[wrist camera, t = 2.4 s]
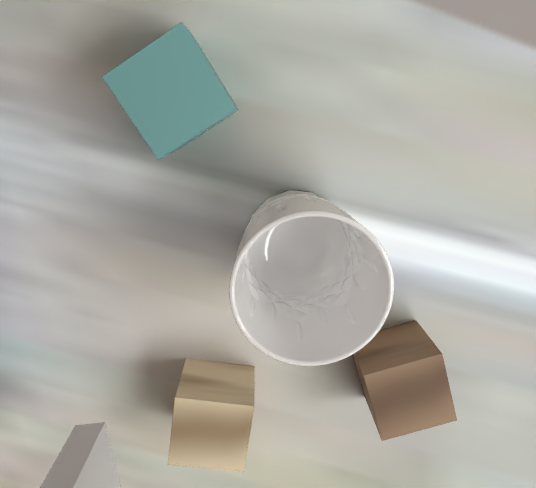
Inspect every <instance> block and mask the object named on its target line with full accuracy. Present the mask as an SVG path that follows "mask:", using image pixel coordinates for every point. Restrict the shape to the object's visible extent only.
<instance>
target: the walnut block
mask: <svg viewBox="0 0 536 488" xmlns="http://www.w3.org/2000/svg"><path fill="white" fill-rule="evenodd" d="M353 356H354V360H355V363H356V367H357V371H358V374H359V378H360V381H361V385H362V388H363V392H364V395H365V398H366V401H367V404H368V406H369V409H370V411H371V414H372V416H373V419H374V422H375V424H376V427H377V429H378V432H379V434H380V437H381V439H382V441H383V440H387V439H390V438H394V437H398V436H401V435H405V434H409V433H412V432H416V431H420V430H423V429H427V428H431V427H434V426H438V425H442V424H445V423H449V422H453V421H456V420H457V418H456V413H455V409H454V405H453V400H452V396H451V391H450V387H449V382H448V378H447V374H446V369H445V365H444V360H443V356H442V353H441V352H440V350H439V349H438V348H437V347H436V345H435V344H434V343H433V341H432V340H431V339H430V338H429V336H428V335H427V334H426V333H425V331H424V330H423V329H422V327H421V326H420V325H419V324H418V322H417V321H412V322H408V323H405V324H401V325H398V326H394V327H391V328H387V329H384V330H380V331H379V332H378V333H377V334H376V335H375V337H374V338H373V339H372V340H371V341H370V342H369V343H368V344H366V345H365V346H364V347H363V348H362V349H360V350H359V351H357V352H356V353H354V354H353Z"/></svg>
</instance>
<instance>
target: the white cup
mask: <svg viewBox="0 0 536 488" xmlns="http://www.w3.org/2000/svg"><path fill="white" fill-rule="evenodd" d="M393 294H394V277H393V271H392V267H391V263H390V261H389V258H388V256H387V254H386V252H385V250H384V248H383V247H382V245H381V244H380V242H379V241H378V240H377V239H376V237H375V236H374V235H373V234H372V233H371V232H370V231H368V230H367V229H366V228H365V227H363V226H362V225H361V224H360V223H358V222H357V221H356V220H355V219H353V218H352V217H351V216H350V215H348V214H347V213H346V212H345V211H343V210H342V209H340V208H339V207H337V206H336V205H334V204H333V203H331V202H330V201H328V200H326V199H323V198H321V197H319V196H317V195H316V194H314V193H312V192H303V191H291V190H289V191H286V192H283V193H281V194H278V195H275V196H273V197H270V198H268V199H267V200H266V201H265V202H264V203H263V204H262V205H261V206H260V207H259V208H258V209H257V210H256V211H255V212H254V213H253V214H252V216H251V219H250V222H249V224H248V225H247V227H246V229H245V232H244V234H243V237H242V239H241V242H240V244H239V248H238V252H237V256H236V259H235V263H234V266H233V269H232V273H231V278H230V285H229V297H230V304H231V309H232V312H233V315H234V318H235V320H236V323H237V325H238V326H239V328H240V330H241V331H242V333H243V334H244V335H245V337H246V338H247V339H248V340H249V341H250V342H251V343H252V344H253V345H254V346H255V347H256V348H257V349H259V350H260V351H261V352H263V353H264V354H266V355H268V356H270V357H272V358H274V359H276V360H279V361H281V362H285V363H288V364H293V365H300V366H318V365H325V364H330V363H333V362H337V361H339V360H342V359H344V358H347V357H349V356H351V355H352V354H354V353H356V352H357V351H359V350H360V349H362V348H363V347H364V346H365V345H366V344H368V343H369V342H370V341H371V340H372V339H373V338H374V337H375V335H376V334H377V333H378V332H379V330H380V329H381V327H382V326H383V324H384V322H385V320H386V318H387V316H388V314H389V311H390V308H391V305H392V301H393Z"/></svg>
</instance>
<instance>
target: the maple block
mask: <svg viewBox="0 0 536 488" xmlns="http://www.w3.org/2000/svg"><path fill="white" fill-rule="evenodd" d="M253 410H254V366H247V365H238V364H229V363H221V362H212V361H204V360H195V359H186V360H185V364H184V367H183V371H182V374H181V378H180V381H179V385H178V388H177V392H176V395H175V401H174V410H173V420H172V429H171V439H170V448H169V457H168V464H169V465H179V466H189V467H199V468H208V469H218V470H228V471H237V472H244V468H245V462H246V455H247V449H248V442H249V436H250V430H251V423H252V417H253Z"/></svg>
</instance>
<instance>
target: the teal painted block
mask: <svg viewBox="0 0 536 488" xmlns="http://www.w3.org/2000/svg"><path fill="white" fill-rule="evenodd" d="M102 78H103V79H104V81H105V82H106V84H107V85H108V87H109V88H110V90H111V91H112V93H113V94H114V96H115V97H116V98H117V100H118V101H119V103H120V104H121V106H122V107H123V109H124V110H125V112H126V113H127V115H128V116H129V118H130V119H131V121H132V122H133V124H134V125H135V127H136V128H137V130H138V131H139V132H140V134H141V135H142V137H143V138H144V140H145V141H146V143H147V144H148V146H149V147H150V149H151V150H152V152H153V153H154V155H155V156H156V158H157V159H158V160H159V159H161V158H163V157H165V156H167V155H169V154H171V153H173V152H175V151H176V150H178V149H179V148H181V147H183V146H184V145H186V144H187V143H189V142H190V141H192V140H193V139H195V138H196V137H198V136H199V135H201V134H203V133H204V132H206V131H207V130H209V129H210V128H212V127H213V126H215V125H216V124H218V123H220V122H221V121H223V120H224V119H226V118H227V117H229V116H230V115H232V114H233V113H235V112H237V111H238V108H237V107H236V105H235V103H234V102H233V100H232V98H231V97H230V95H229V94H228V92H227V90H226V89H225V87H224V85H223V84H222V82H221V80H220V79H219V77H218V76H217V74H216V72H215V71H214V69H213V67H212V66H211V64H210V62H209V61H208V59H207V58H206V56H205V54H204V53H203V51H202V49H201V48H200V46H199V44H198V43H197V41H196V40H195V38H194V36H193V35H192V34H191V33H190V31H189V30H188V29H187V28H186V26H185V25H184V24H183V23H182V22H181V23H180V24H178V25H177V26H175V27H174V28H172V29H171V30H170V31H168V32H167V33H165V34H164V35H162V36H161V37H159V38H158V39H156V40H155V41H153V42H152V43H151V44H149V45H148V46H146V47H145V48H143V49H142V50H140V51H139V52H137V53H136V54H134V55H133V56H132V57H130V58H129V59H127V60H126V61H124V62H123V63H121V64H120V65H118V66H117V67H115V68H114V69H113V70H111V71H110V72H108V73H107V74H105V75H104V76H102Z"/></svg>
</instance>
